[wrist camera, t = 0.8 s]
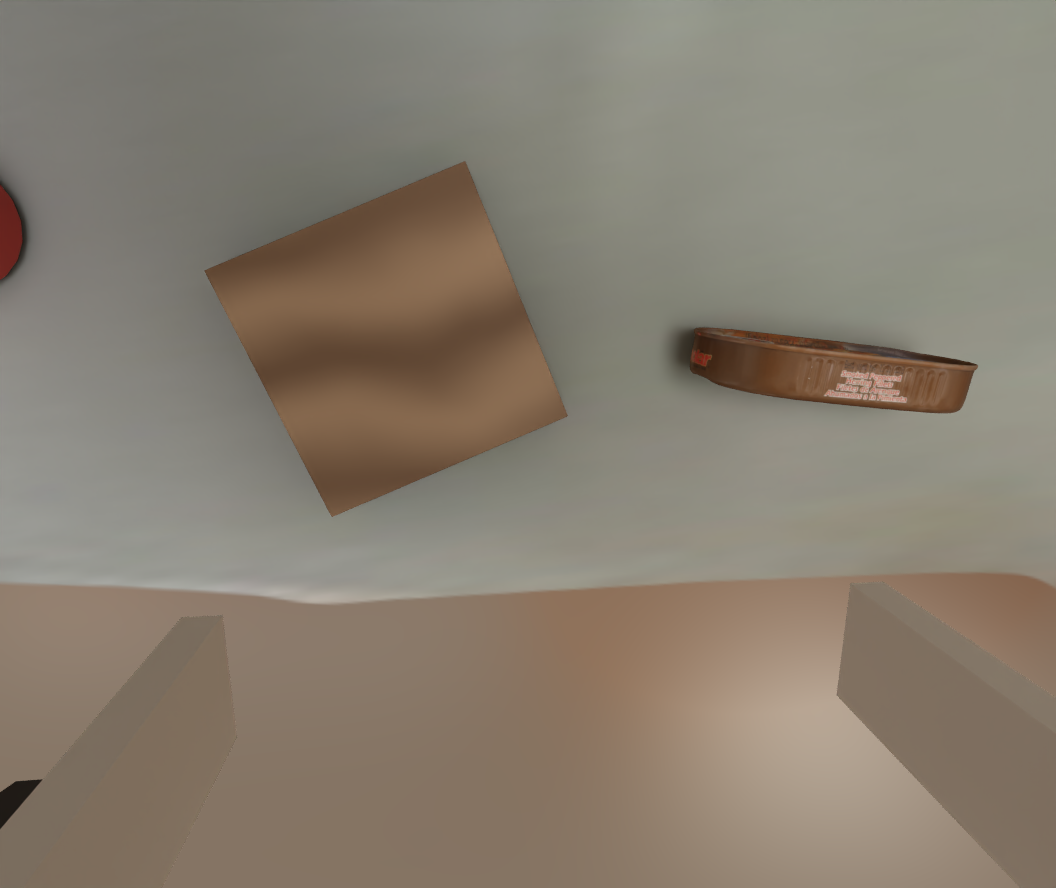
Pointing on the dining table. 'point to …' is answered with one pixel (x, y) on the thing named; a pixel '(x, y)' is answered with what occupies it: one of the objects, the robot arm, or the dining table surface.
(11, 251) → the beer can
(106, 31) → the dining table surface
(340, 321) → the podium
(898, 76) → the dining table surface
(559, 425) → the dining table surface
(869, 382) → the tin
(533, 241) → the dining table surface
